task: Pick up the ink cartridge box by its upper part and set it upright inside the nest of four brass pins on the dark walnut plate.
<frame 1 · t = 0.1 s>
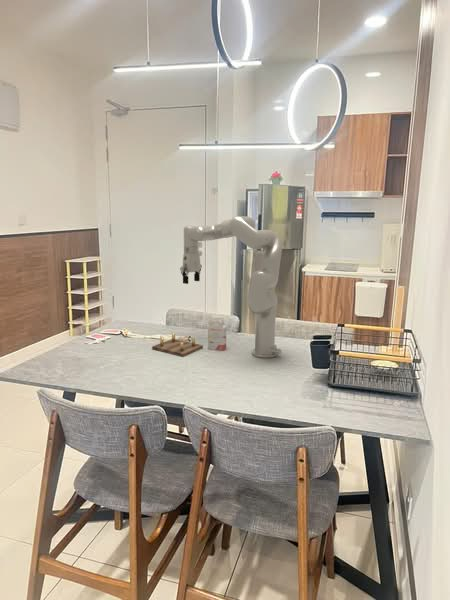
hand: (191, 282, 226), 31 cm above the table, tool pointing down, fingers open, 9 cm apart
ink cartridge box: (217, 348, 217), on the table
brass pins: (177, 342, 215), on the walnut plate, point 4 cm above the table
walnut plate: (177, 348, 215), on the table
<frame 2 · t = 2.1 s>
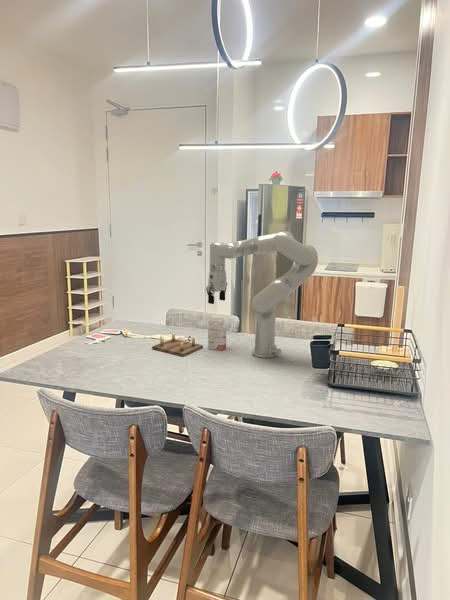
hand: (216, 301, 212), 24 cm above the table, tool pointing down, fingers open, 9 cm apart
nothing on the table moved.
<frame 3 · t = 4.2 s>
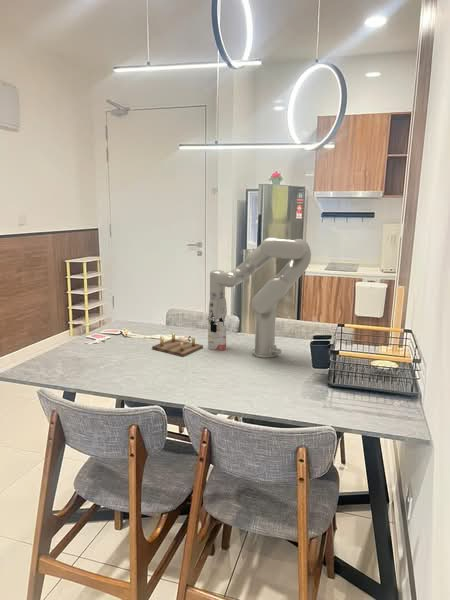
hand: (217, 330, 215), 10 cm above the table, tool pointing down, fingers closed on ink cartridge box, 5 cm apart
ink cartridge box: (217, 348, 217), on the table, touching gripper
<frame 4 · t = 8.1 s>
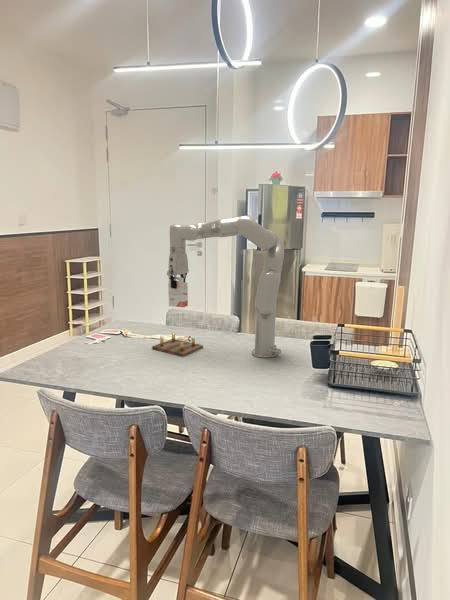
hand: (178, 286, 209), 32 cm above the table, tool pointing down, fingers closed on ink cartridge box, 5 cm apart
ink cartridge box: (178, 306, 211), point 22 cm above the table, touching gripper
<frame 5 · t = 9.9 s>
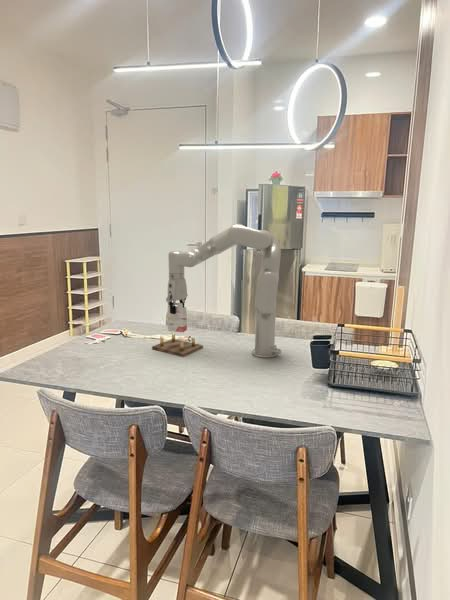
hand: (177, 312, 211), 19 cm above the table, tool pointing down, fingers closed on ink cartridge box, 5 cm apart
ink cartridge box: (177, 330, 213), point 9 cm above the table, touching gripper
when the fingers open (12 cm above the table, at t = 11.8 s): ink cartridge box drops 1 cm, resting on walnut plate.
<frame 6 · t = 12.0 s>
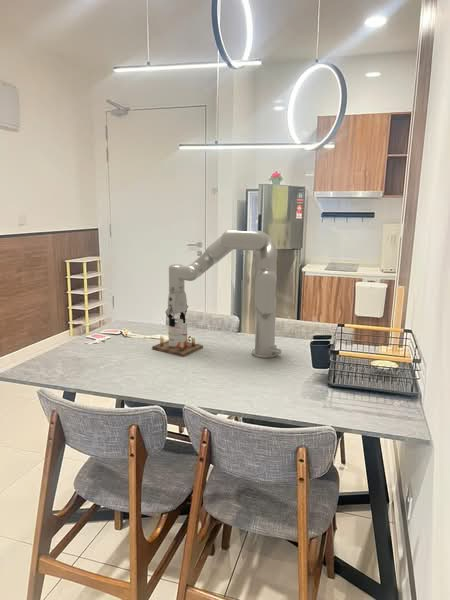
hand: (177, 324, 213), 13 cm above the table, tool pointing down, fingers open, 7 cm apart
ink cartridge box: (178, 346, 215), point 1 cm above the table, touching walnut plate
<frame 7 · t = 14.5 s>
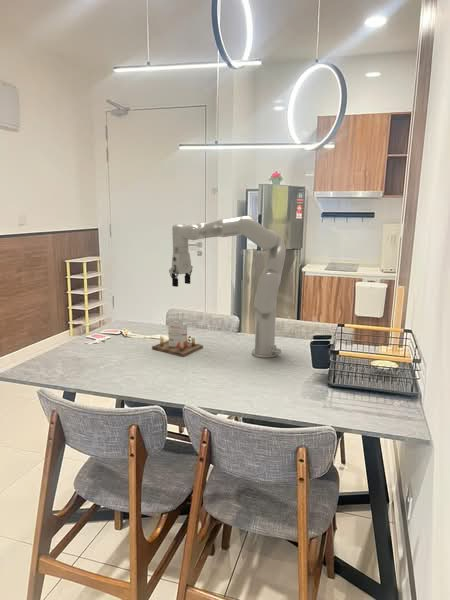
hand: (181, 284, 210), 33 cm above the table, tool pointing down, fingers open, 9 cm apart
nothing on the table moved.
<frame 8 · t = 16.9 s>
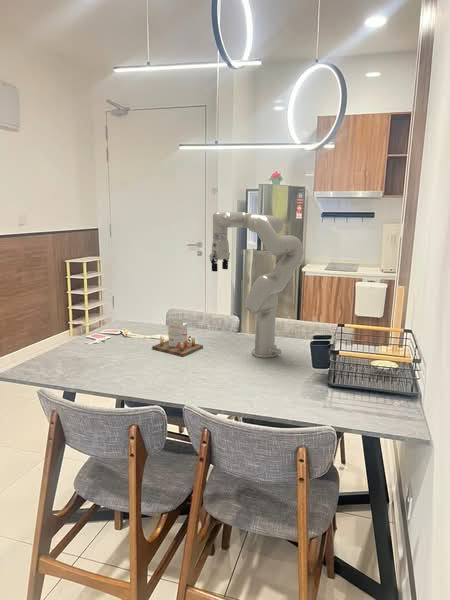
hand: (219, 270, 221), 38 cm above the table, tool pointing down, fingers open, 9 cm apart
nothing on the table moved.
at the end: ink cartridge box 0.2 cm off-centre on the walnut plate, point 1.3 cm above the walnut plate's base; ink cartridge box tilted 0°; the gripper is holding nothing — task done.
